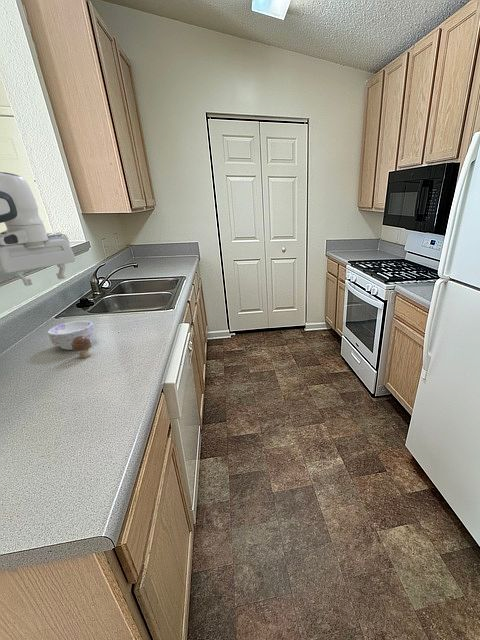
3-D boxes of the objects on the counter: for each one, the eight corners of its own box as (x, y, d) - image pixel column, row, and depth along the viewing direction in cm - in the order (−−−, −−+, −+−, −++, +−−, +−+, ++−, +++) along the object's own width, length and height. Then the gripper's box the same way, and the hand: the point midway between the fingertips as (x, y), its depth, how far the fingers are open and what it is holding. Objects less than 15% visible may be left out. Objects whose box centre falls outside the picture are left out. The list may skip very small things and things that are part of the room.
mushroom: (81, 361, 119) (74, 341, 115) (72, 357, 122) (65, 337, 118) (98, 354, 123) (91, 335, 120) (89, 351, 126) (82, 332, 123)
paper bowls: (61, 340, 136) (54, 322, 132) (102, 335, 140) (96, 317, 136) (48, 356, 123) (40, 336, 119) (94, 350, 127) (87, 330, 123)
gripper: (60, 231, 107) (74, 274, 114) (-18, 238, 92) (3, 288, 98) (71, 232, 104) (84, 276, 111) (-9, 239, 89) (12, 290, 95)
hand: (45, 281), depth 104 cm, fingers open, 8 cm apart
